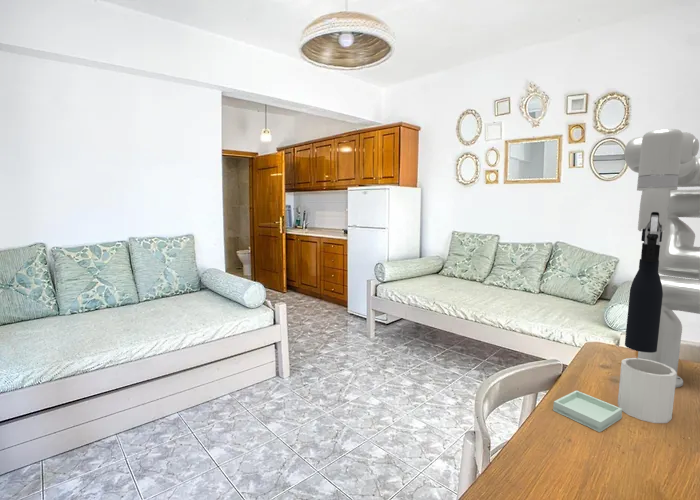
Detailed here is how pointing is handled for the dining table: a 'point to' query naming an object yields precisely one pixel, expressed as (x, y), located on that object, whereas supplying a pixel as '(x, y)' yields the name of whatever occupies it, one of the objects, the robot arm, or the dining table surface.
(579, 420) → the sage tray
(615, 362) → the dining table surface
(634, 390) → the wine cooler
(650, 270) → the wine bottle
